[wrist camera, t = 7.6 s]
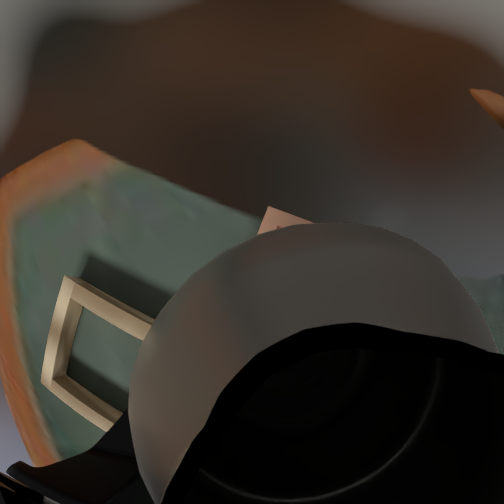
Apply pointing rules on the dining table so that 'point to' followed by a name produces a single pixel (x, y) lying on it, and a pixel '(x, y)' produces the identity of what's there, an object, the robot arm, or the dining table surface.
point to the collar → (62, 337)
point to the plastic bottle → (320, 378)
